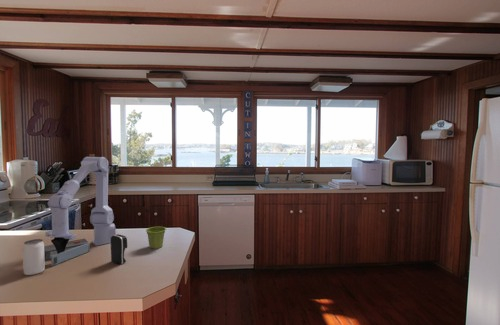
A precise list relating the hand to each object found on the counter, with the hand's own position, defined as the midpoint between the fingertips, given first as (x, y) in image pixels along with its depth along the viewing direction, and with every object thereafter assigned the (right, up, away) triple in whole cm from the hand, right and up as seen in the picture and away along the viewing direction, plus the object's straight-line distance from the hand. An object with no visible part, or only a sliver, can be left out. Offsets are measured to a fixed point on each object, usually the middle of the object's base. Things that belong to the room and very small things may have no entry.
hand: (61, 254), depth 114 cm
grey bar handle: (+3, -3, +3) cm, 5 cm away
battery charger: (+25, -3, 0) cm, 25 cm away
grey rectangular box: (-4, -3, +9) cm, 10 cm away
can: (-4, -4, -10) cm, 11 cm away
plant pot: (+34, -3, +18) cm, 39 cm away
